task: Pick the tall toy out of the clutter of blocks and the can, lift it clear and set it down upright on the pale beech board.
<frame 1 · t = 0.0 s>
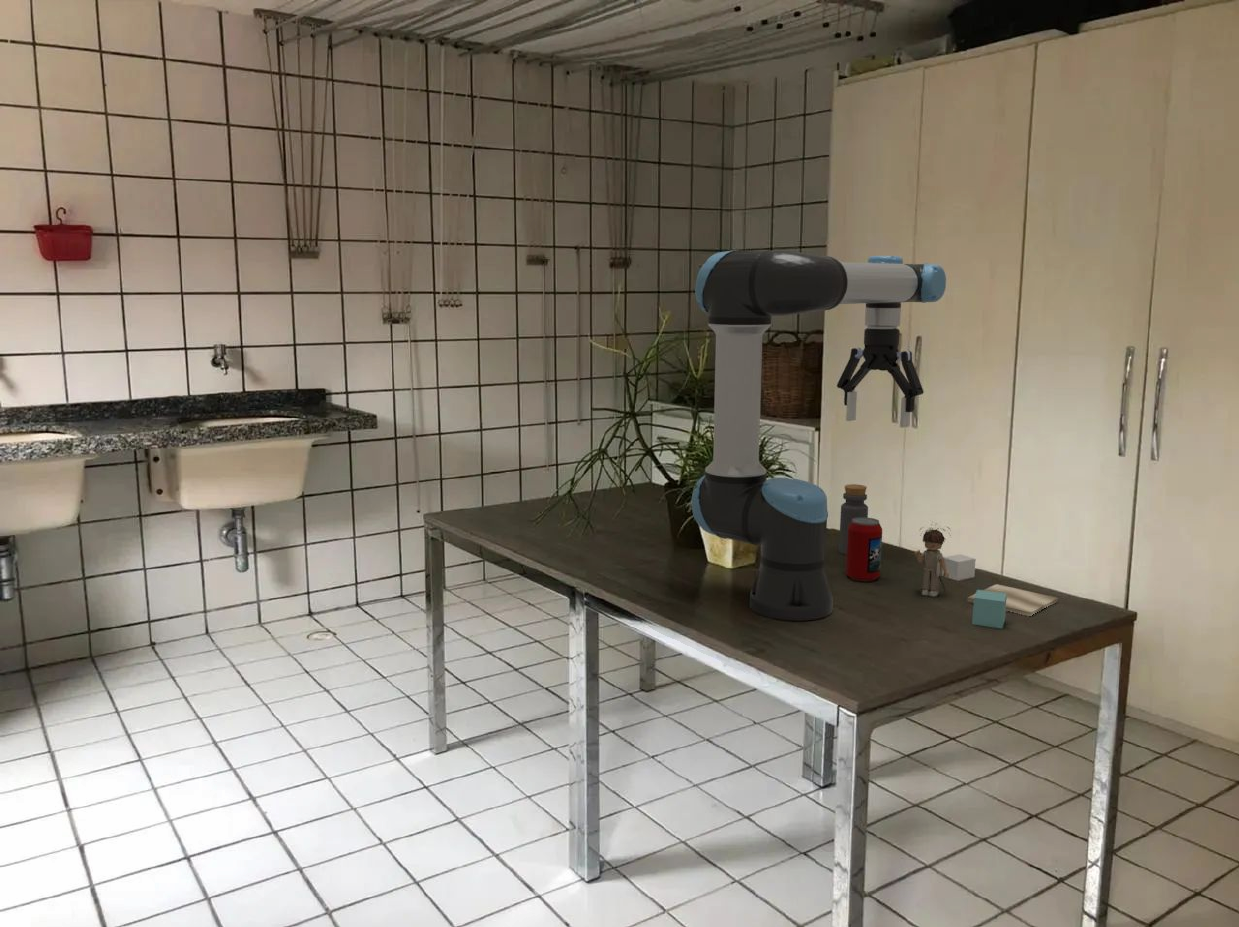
hand: (877, 423, 223), 28 cm above the table, fingers open, 13 cm apart
beverage can: (862, 578, 203), on the table
bottle: (852, 553, 222), on the table
teal block: (988, 622, 177), on the table
toy: (930, 595, 193), on the table
white block: (957, 576, 205), on the table
board: (1012, 601, 188), on the table
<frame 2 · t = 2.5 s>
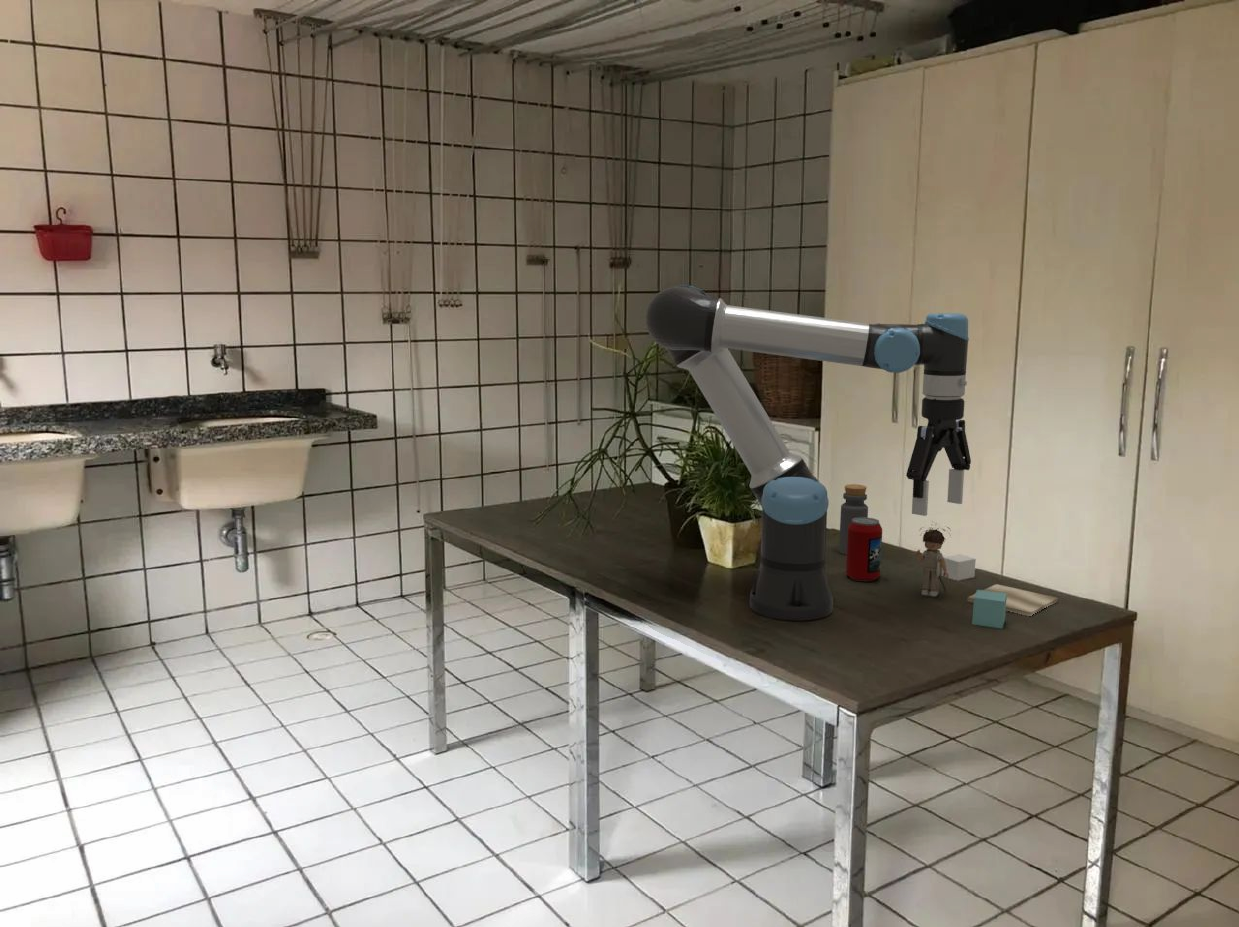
hand: (937, 508, 190), 17 cm above the table, fingers open, 13 cm apart
nothing on the table moved.
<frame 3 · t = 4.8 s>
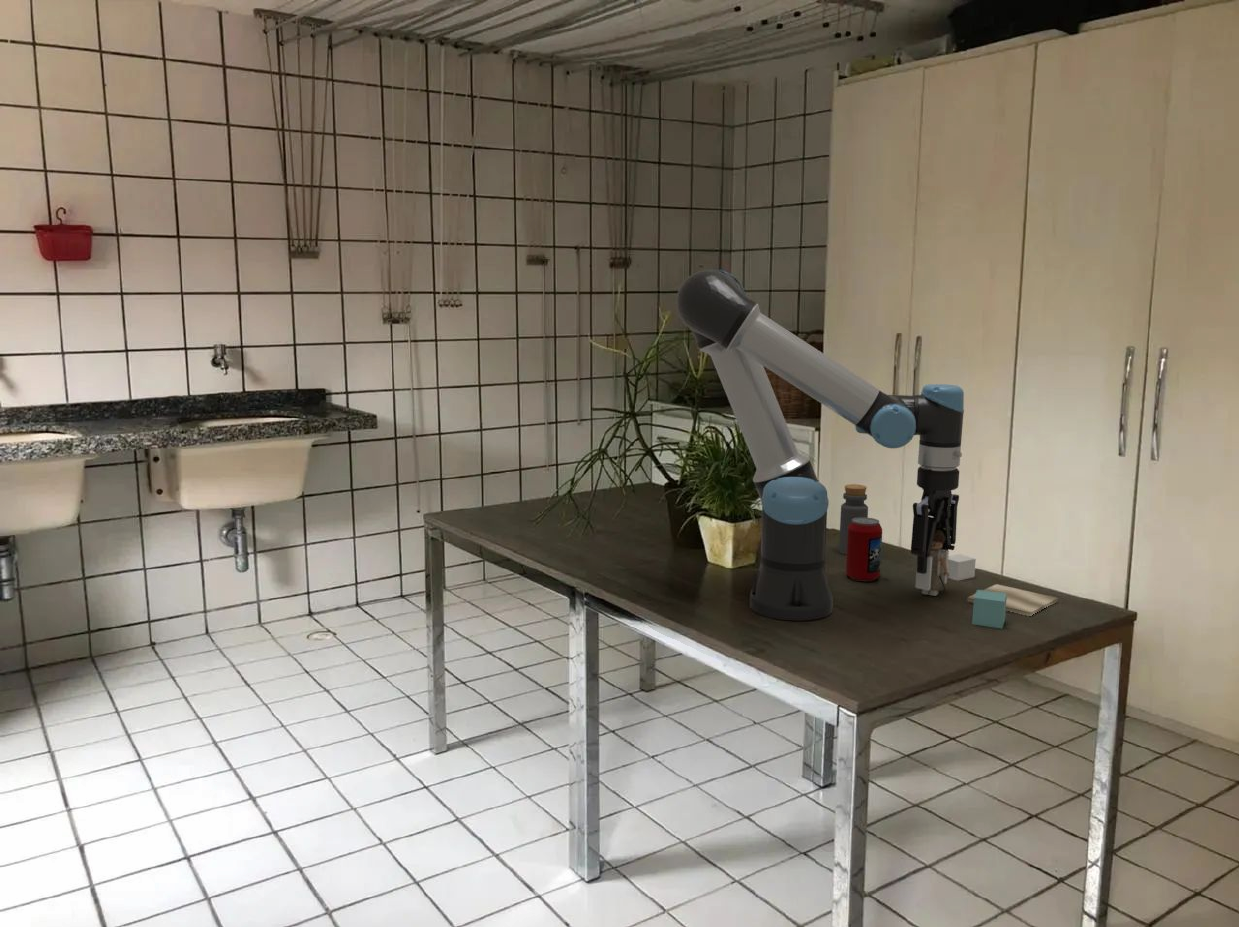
hand: (931, 585, 192), 2 cm above the table, fingers closed on toy, 6 cm apart
toy: (930, 594, 193), on the table, touching gripper
everything else where it was.
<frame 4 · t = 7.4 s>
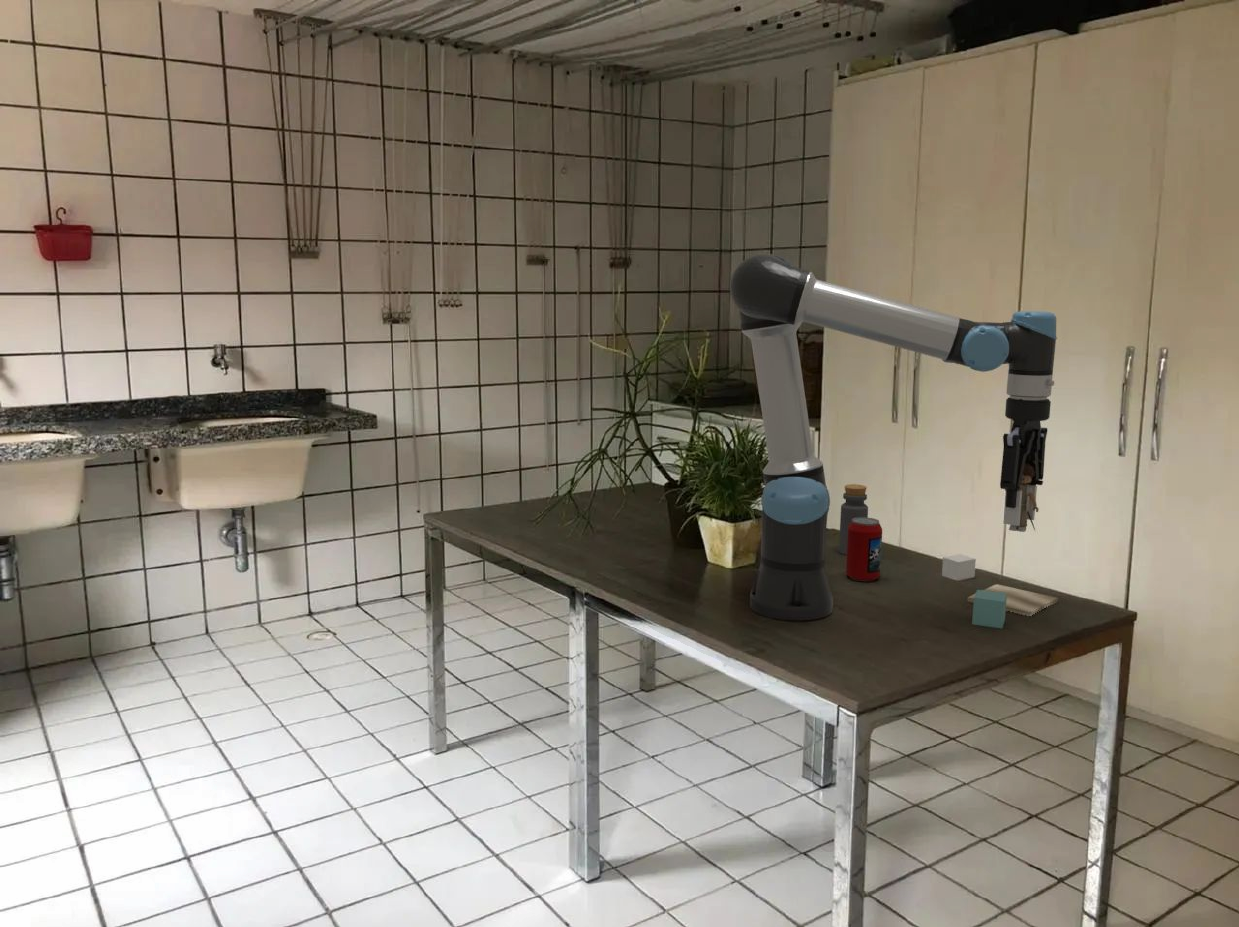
hand: (1018, 521, 186), 16 cm above the table, fingers closed on toy, 6 cm apart
toy: (1018, 531, 186), point 14 cm above the table, touching gripper
everything else where it was.
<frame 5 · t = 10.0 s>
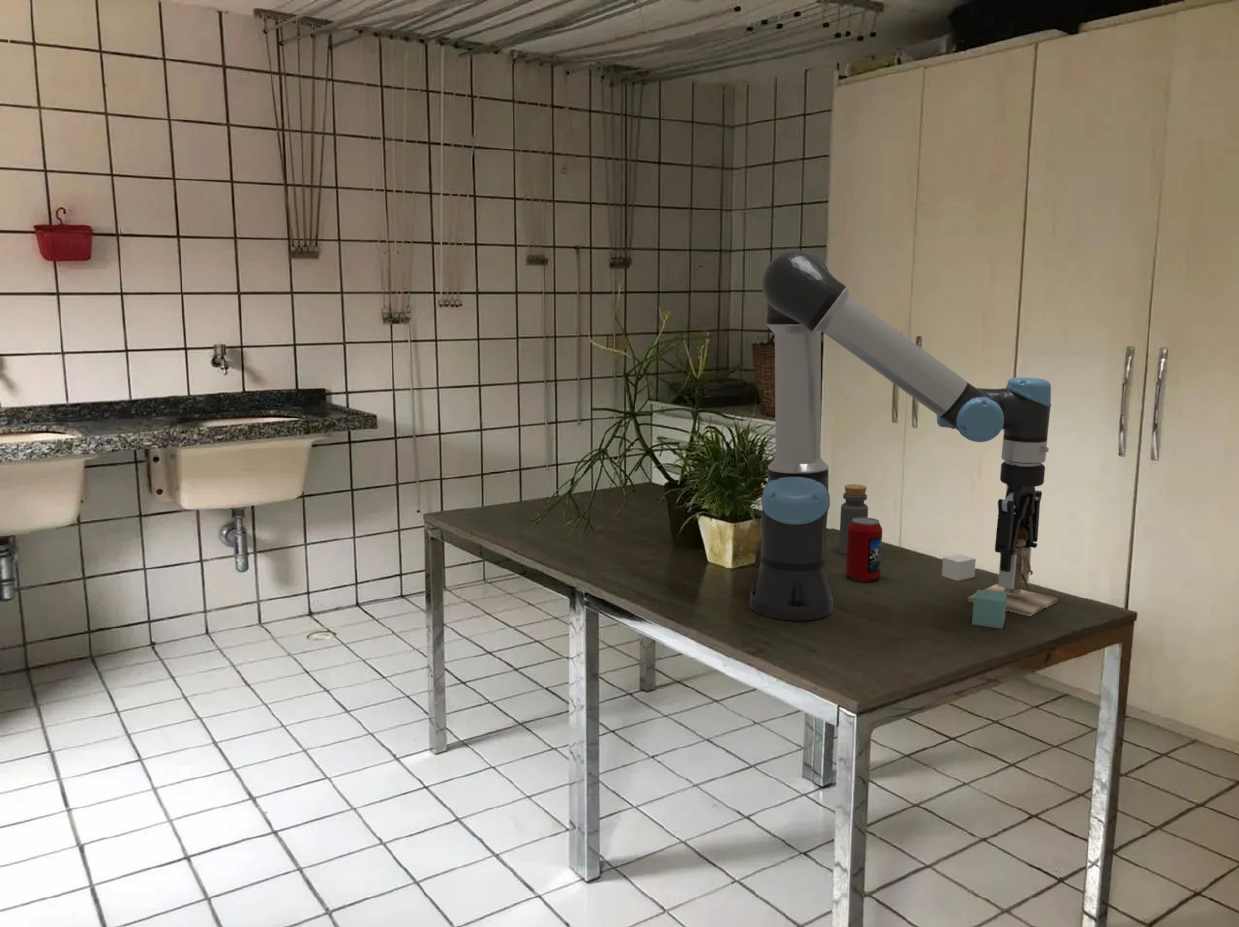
hand: (1013, 583, 188), 4 cm above the table, fingers closed on toy, 6 cm apart
toy: (1012, 593, 188), point 2 cm above the table, touching gripper
everything else where it was.
when the fingers open (4 cm above the table, at t = 10.1 s): toy moves 1 cm, resting on board.
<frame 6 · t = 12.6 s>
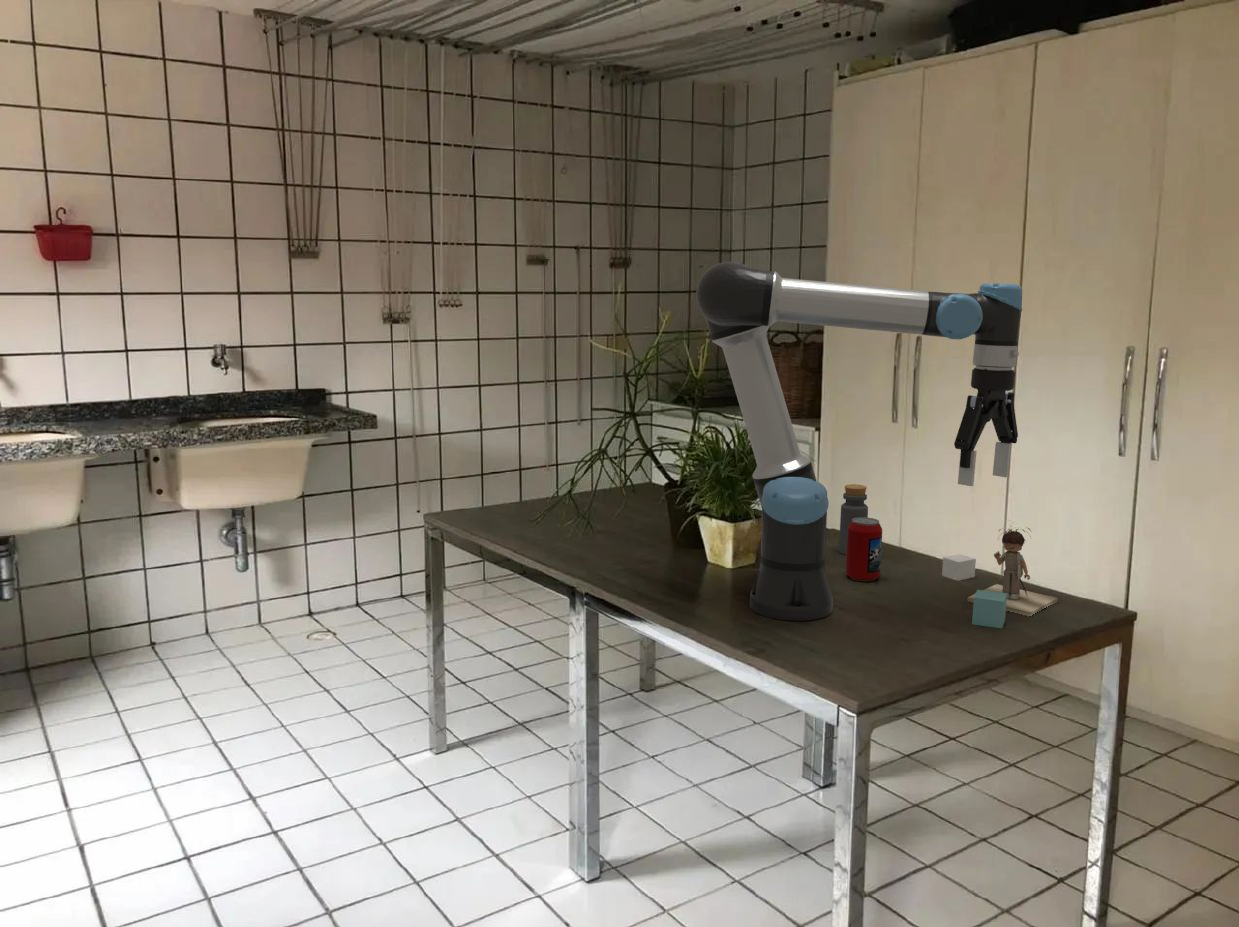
hand: (983, 480, 189), 22 cm above the table, fingers open, 13 cm apart
toy: (1011, 598, 188), point 1 cm above the table, touching board
everything else where it was.
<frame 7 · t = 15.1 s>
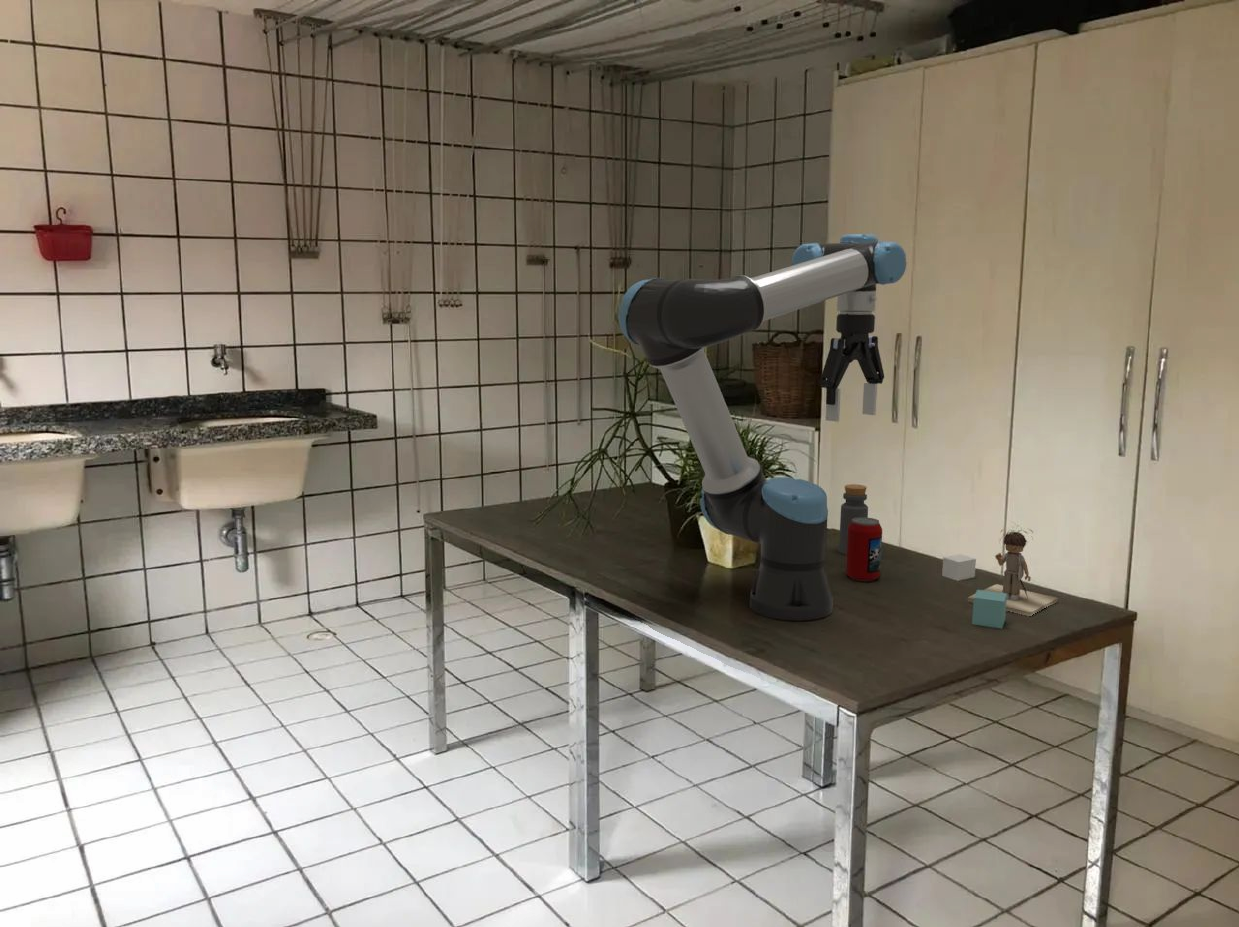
hand: (851, 417, 205), 32 cm above the table, fingers open, 13 cm apart
nothing on the table moved.
at the end: toy inside the target area on the board (0.5 cm from its centre), point 0.6 cm above the board's base; toy tilted 2°; the gripper is holding nothing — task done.
